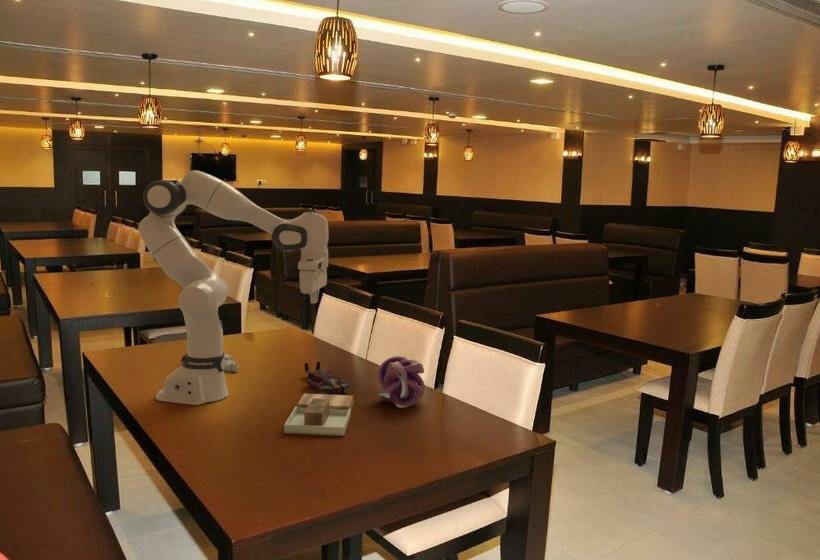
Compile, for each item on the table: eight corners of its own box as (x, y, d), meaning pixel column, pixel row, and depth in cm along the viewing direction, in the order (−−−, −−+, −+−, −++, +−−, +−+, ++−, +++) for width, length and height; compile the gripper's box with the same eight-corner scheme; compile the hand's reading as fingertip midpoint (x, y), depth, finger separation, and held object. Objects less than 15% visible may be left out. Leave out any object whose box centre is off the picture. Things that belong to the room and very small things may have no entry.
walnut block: (312, 414, 191) (304, 429, 179) (312, 398, 190) (304, 412, 178) (328, 414, 190) (321, 429, 179) (329, 399, 190) (321, 413, 178)
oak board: (297, 413, 192) (297, 404, 192) (304, 402, 202) (304, 393, 202) (349, 415, 192) (349, 406, 191) (353, 404, 202) (353, 395, 201)
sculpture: (425, 418, 198) (433, 379, 215) (412, 377, 191) (421, 340, 208) (379, 422, 202) (390, 384, 219) (364, 382, 195) (378, 345, 212)
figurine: (328, 360, 233) (358, 382, 206) (328, 375, 234) (358, 399, 207) (295, 363, 227) (321, 387, 201) (295, 378, 228) (321, 404, 201)
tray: (284, 433, 177) (284, 424, 176) (295, 413, 192) (296, 405, 192) (343, 436, 176) (343, 427, 176) (350, 416, 192) (350, 408, 191)
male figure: (213, 334, 249) (248, 349, 233) (212, 357, 251) (247, 374, 235) (187, 338, 241) (222, 354, 225) (186, 362, 243) (221, 380, 227)
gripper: (313, 257, 216) (313, 297, 218) (296, 264, 196) (295, 307, 198) (331, 258, 215) (331, 298, 217) (315, 265, 195) (315, 308, 197)
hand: (314, 302), depth 207 cm, fingers closed
